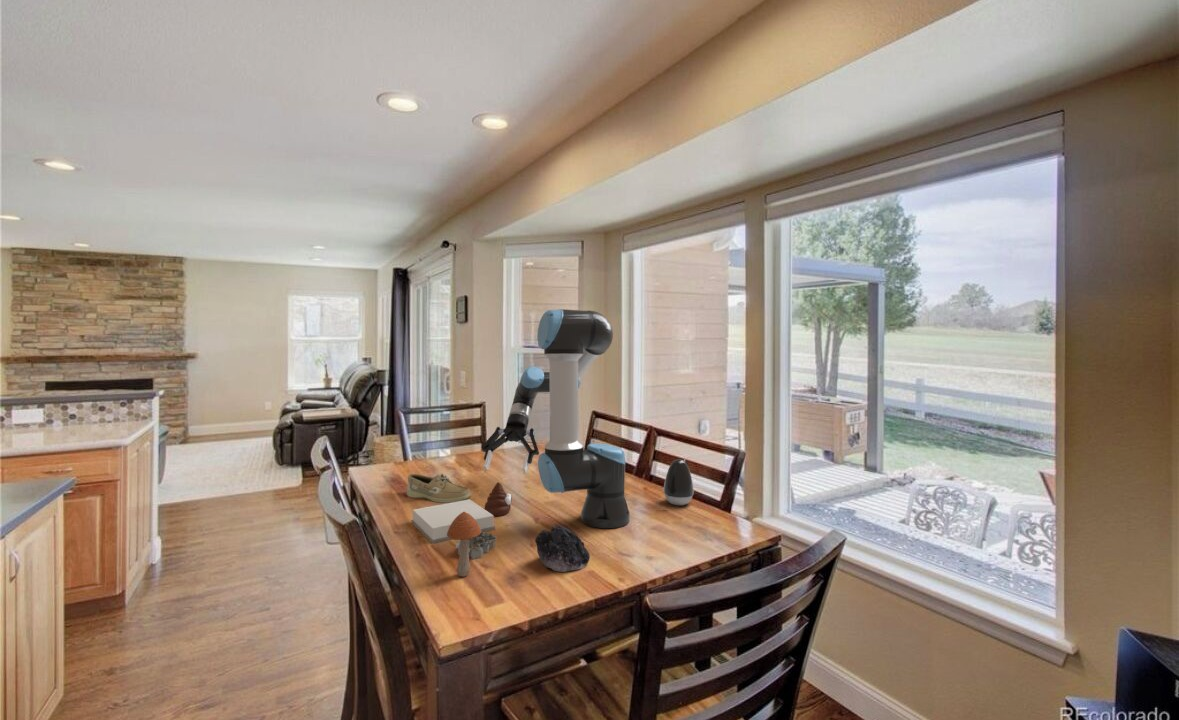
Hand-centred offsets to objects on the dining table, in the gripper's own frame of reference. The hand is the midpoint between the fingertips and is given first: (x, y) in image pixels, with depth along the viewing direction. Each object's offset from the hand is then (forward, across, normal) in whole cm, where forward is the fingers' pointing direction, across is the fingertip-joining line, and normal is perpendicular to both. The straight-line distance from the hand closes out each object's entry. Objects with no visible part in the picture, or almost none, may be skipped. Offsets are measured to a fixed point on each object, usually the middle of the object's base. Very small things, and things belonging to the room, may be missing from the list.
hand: (504, 470), depth 172 cm
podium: (+24, +8, +8) cm, 26 cm away
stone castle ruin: (+35, -5, +18) cm, 39 cm away
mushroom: (+44, -7, +28) cm, 52 cm away
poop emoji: (+14, 0, -3) cm, 14 cm away
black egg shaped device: (-1, -58, -18) cm, 60 cm away
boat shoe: (+7, +25, -10) cm, 28 cm away
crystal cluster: (+36, -29, +19) cm, 50 cm away
